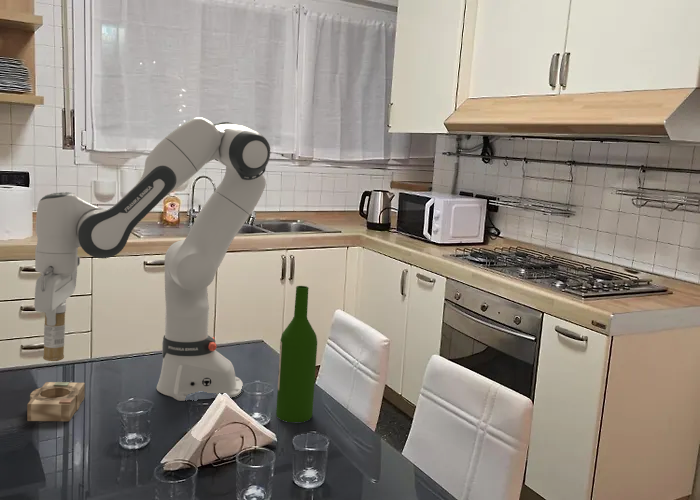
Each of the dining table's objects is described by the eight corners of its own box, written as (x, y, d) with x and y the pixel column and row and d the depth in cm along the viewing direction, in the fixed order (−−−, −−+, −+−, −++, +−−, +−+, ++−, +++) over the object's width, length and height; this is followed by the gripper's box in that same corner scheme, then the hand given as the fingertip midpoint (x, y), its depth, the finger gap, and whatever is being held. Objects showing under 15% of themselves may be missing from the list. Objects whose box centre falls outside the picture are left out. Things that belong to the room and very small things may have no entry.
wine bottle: (277, 407, 165) (285, 282, 160) (313, 410, 165) (321, 284, 161) (274, 422, 156) (281, 289, 152) (311, 424, 156) (320, 292, 152)
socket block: (85, 398, 162) (85, 381, 162) (70, 421, 149) (70, 403, 148) (40, 397, 161) (41, 380, 160) (21, 420, 147) (21, 402, 146)
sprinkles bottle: (60, 354, 156) (62, 300, 154) (66, 360, 152) (68, 304, 151) (40, 357, 153) (42, 301, 151) (45, 363, 150) (47, 305, 148)
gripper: (58, 272, 140) (57, 334, 142) (81, 256, 160) (80, 311, 162) (26, 270, 139) (26, 333, 141) (54, 255, 159) (53, 310, 161)
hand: (55, 321), depth 151 cm, fingers closed on sprinkles bottle, 4 cm apart
